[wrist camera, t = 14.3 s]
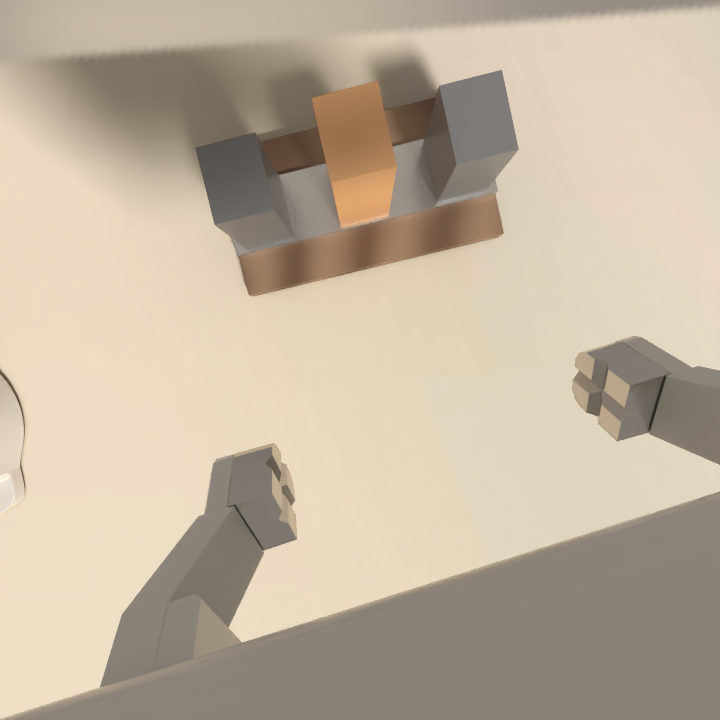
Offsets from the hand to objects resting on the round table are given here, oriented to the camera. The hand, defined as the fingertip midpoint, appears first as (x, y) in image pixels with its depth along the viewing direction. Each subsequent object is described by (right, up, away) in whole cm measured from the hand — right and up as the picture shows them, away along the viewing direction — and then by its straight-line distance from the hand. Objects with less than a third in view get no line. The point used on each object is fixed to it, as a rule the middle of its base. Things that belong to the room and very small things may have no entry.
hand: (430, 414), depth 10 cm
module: (-2, +15, +22) cm, 27 cm away
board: (-2, +15, +23) cm, 28 cm away
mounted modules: (-2, +15, +22) cm, 26 cm away
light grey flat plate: (-2, +15, +22) cm, 27 cm away
